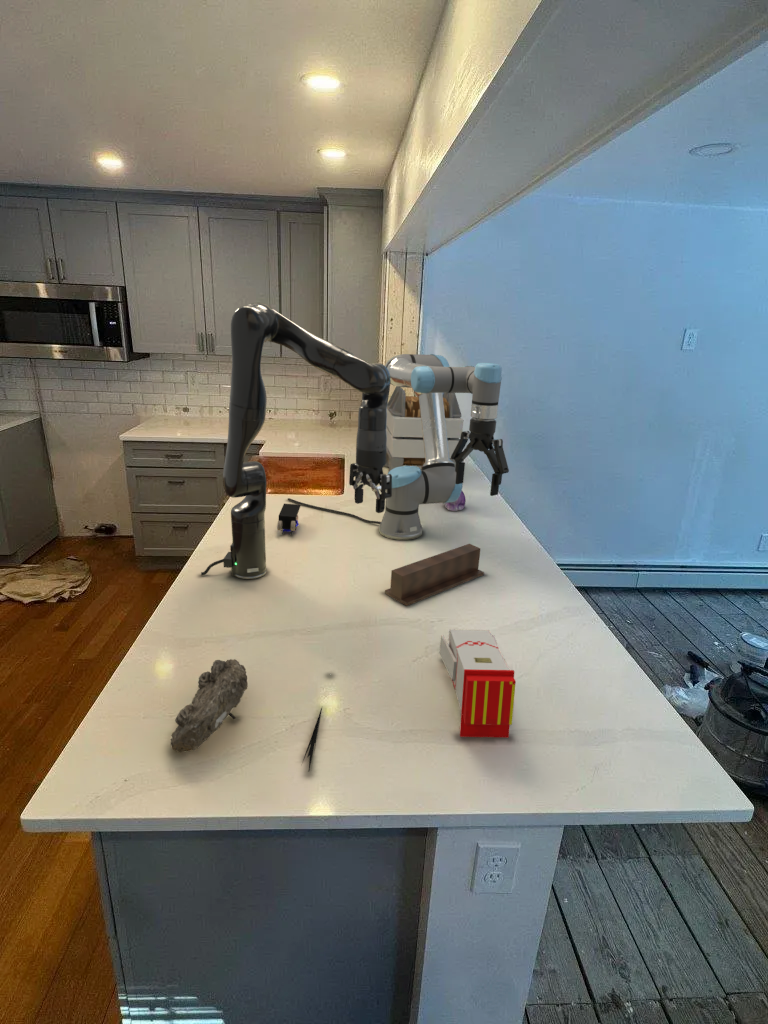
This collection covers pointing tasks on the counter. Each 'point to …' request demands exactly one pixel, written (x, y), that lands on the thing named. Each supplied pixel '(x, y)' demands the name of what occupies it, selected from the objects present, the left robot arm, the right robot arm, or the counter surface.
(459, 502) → the figurine
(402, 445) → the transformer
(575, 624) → the counter surface
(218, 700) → the fossil
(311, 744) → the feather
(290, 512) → the figurine character
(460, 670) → the toy
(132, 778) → the counter surface
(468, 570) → the rail
